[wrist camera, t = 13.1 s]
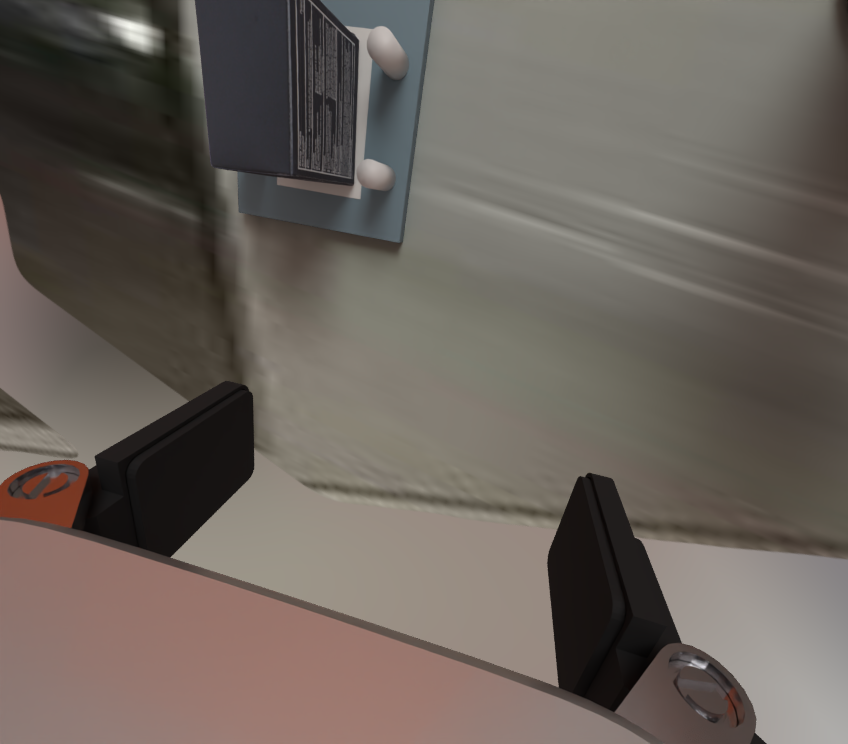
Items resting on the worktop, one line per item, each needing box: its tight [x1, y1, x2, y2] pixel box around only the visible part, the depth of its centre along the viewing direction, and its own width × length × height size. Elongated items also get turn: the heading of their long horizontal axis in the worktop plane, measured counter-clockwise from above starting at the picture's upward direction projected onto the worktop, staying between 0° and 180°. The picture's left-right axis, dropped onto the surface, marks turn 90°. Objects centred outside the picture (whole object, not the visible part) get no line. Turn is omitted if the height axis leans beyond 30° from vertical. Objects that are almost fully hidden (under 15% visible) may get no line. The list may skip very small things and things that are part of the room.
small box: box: [195, 0, 359, 186], centre depth 28 cm, size 11×6×10 cm, turn 174°
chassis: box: [238, 0, 434, 243], centre depth 32 cm, size 16×18×5 cm
